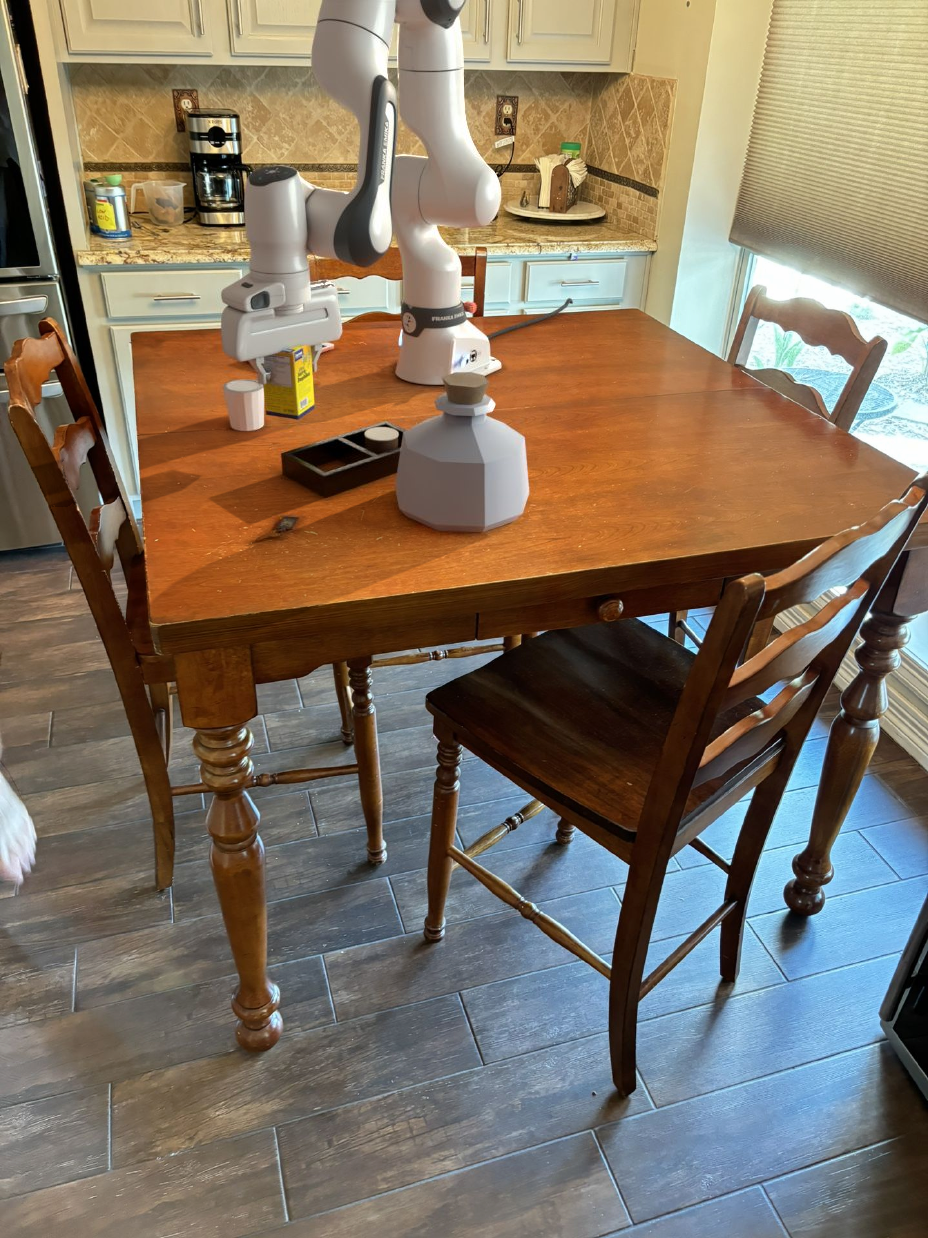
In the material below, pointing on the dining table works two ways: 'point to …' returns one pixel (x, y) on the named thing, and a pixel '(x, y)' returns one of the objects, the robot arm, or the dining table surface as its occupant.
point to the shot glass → (245, 404)
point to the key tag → (281, 527)
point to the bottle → (462, 463)
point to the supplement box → (289, 383)
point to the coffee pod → (381, 439)
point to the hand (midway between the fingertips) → (287, 377)
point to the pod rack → (347, 450)
